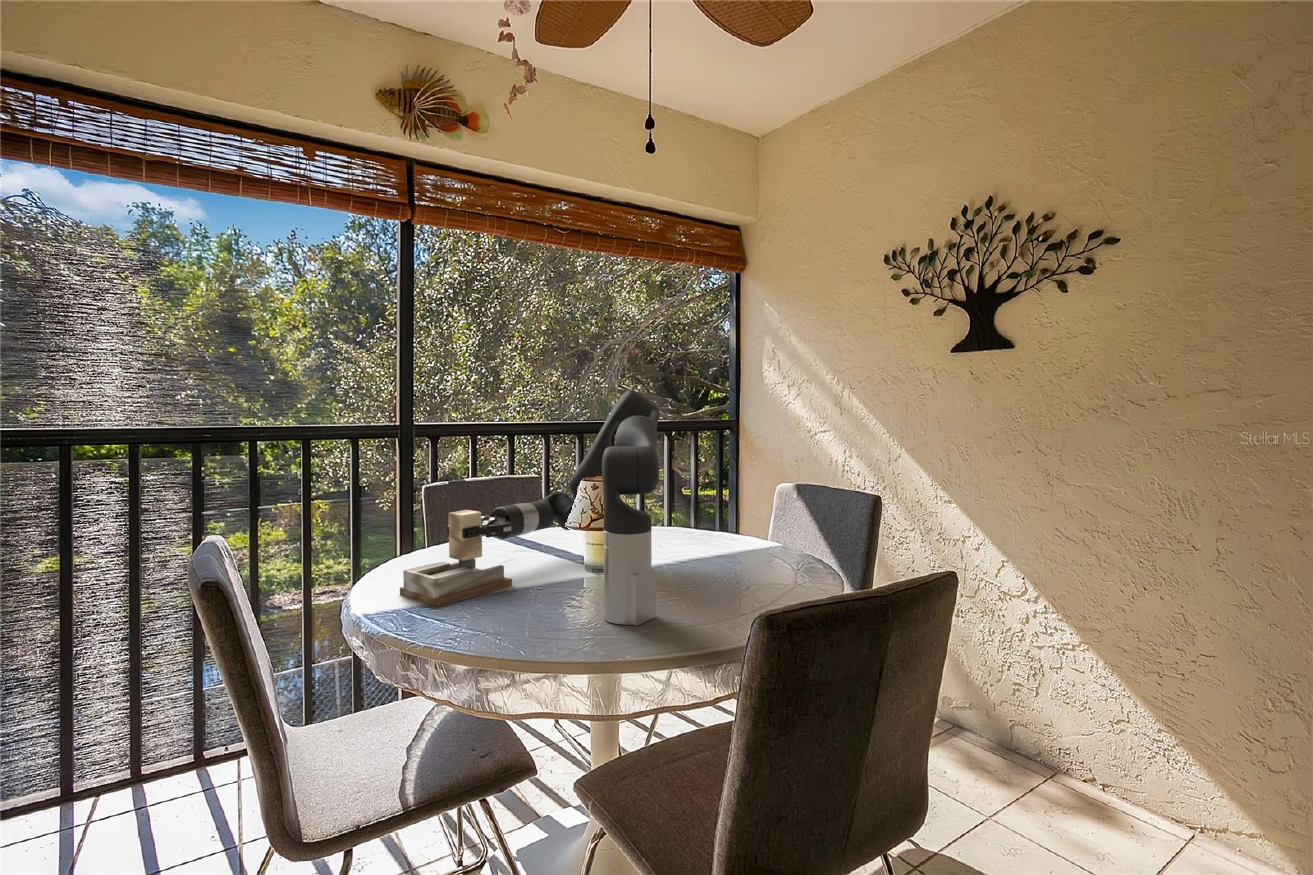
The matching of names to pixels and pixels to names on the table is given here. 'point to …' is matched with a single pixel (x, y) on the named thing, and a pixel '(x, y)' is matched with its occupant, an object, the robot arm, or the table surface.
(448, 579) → the track
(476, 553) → the keyhole post
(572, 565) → the table surface
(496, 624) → the table surface
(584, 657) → the table surface
